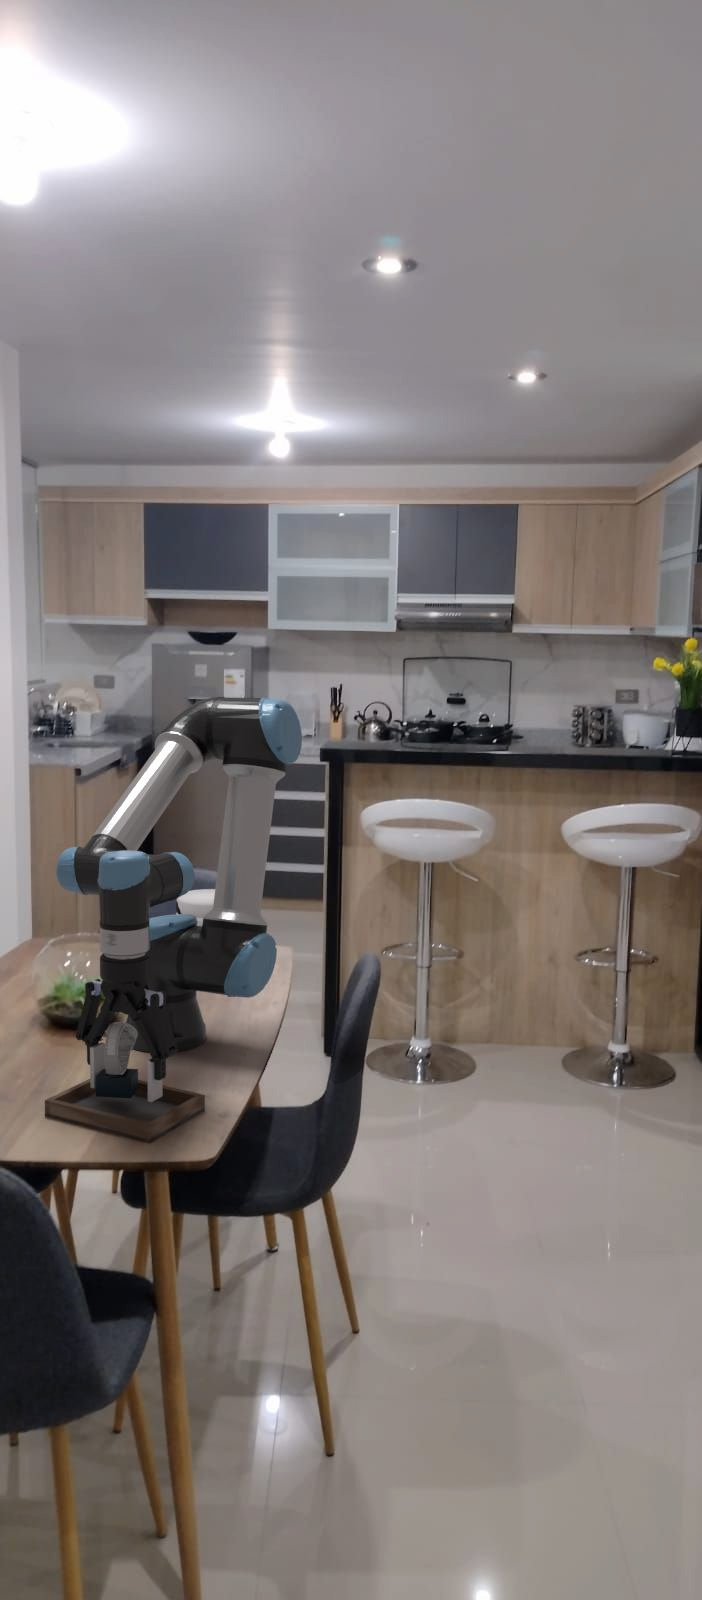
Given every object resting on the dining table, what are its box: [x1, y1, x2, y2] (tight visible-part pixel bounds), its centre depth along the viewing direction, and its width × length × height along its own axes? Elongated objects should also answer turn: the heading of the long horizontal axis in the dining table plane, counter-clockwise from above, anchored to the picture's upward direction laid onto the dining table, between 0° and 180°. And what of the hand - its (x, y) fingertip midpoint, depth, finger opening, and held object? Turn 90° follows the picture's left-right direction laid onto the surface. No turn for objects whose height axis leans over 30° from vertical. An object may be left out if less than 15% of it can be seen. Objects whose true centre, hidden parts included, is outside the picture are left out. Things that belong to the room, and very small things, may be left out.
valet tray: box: [44, 1078, 206, 1144], centre depth 175 cm, size 14×20×3 cm
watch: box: [96, 1021, 139, 1098], centre depth 176 cm, size 6×8×11 cm
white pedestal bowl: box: [175, 888, 215, 926], centre depth 253 cm, size 17×17×18 cm
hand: (126, 1091), depth 174 cm, fingers open, 10 cm apart
